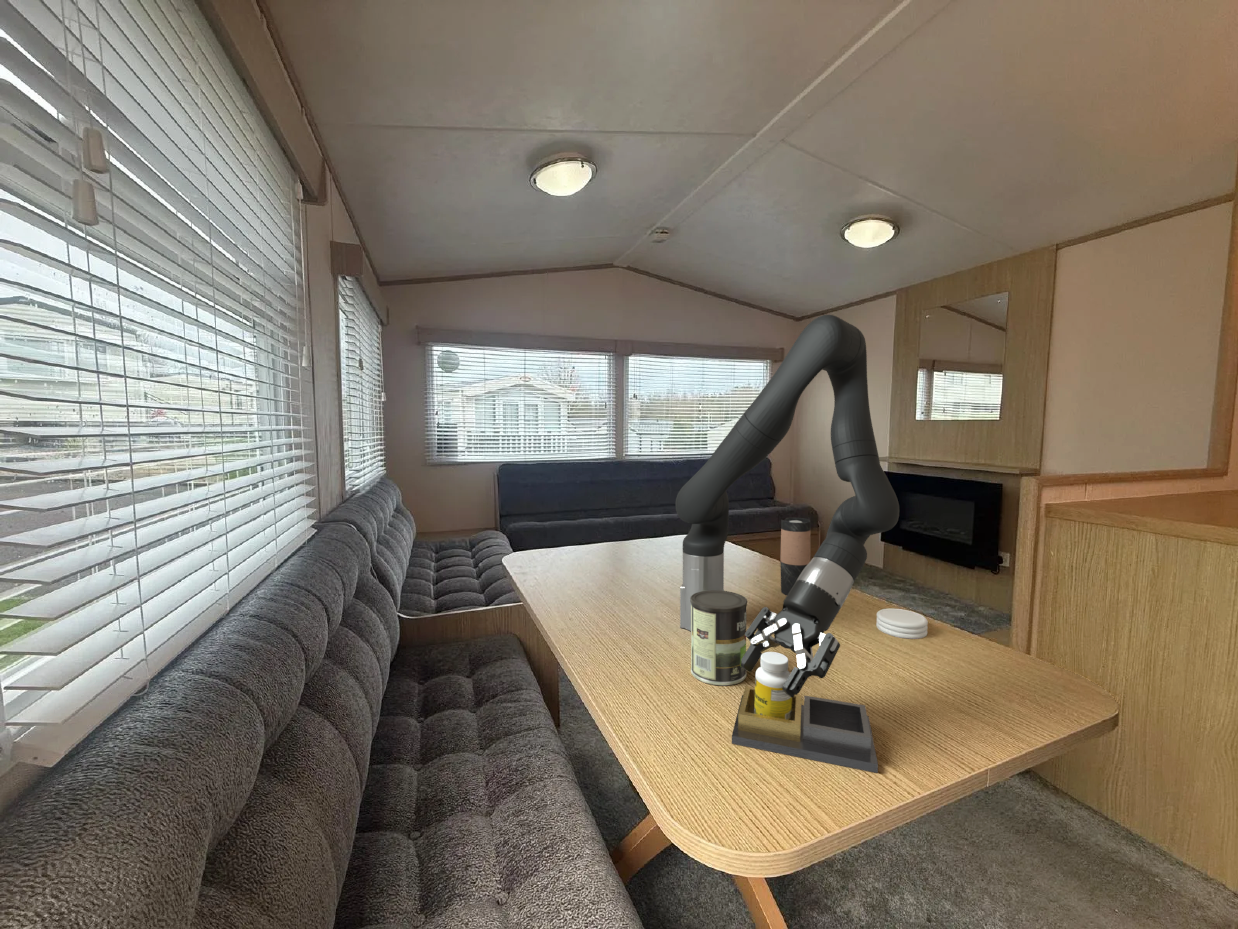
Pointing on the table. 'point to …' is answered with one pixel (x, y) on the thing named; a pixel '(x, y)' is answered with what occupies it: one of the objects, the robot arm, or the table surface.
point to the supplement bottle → (772, 687)
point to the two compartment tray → (810, 731)
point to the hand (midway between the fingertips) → (765, 681)
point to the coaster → (902, 623)
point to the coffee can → (718, 637)
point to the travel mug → (794, 550)
